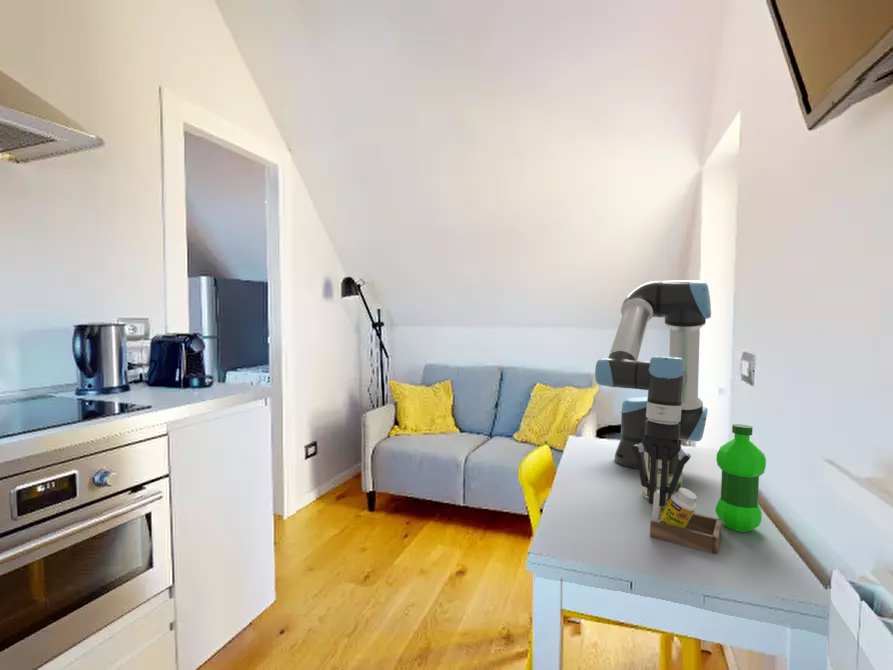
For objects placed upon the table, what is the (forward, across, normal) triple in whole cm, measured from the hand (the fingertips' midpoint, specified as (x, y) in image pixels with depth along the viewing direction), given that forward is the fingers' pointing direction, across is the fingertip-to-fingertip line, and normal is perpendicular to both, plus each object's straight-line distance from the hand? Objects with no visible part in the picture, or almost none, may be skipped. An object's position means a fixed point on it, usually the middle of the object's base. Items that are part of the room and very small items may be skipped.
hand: (656, 518), depth 113 cm
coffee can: (+3, -3, +24) cm, 24 cm away
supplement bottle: (+2, +3, 0) cm, 3 cm away
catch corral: (+3, +6, +1) cm, 7 cm away
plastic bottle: (+2, +16, +14) cm, 21 cm away
